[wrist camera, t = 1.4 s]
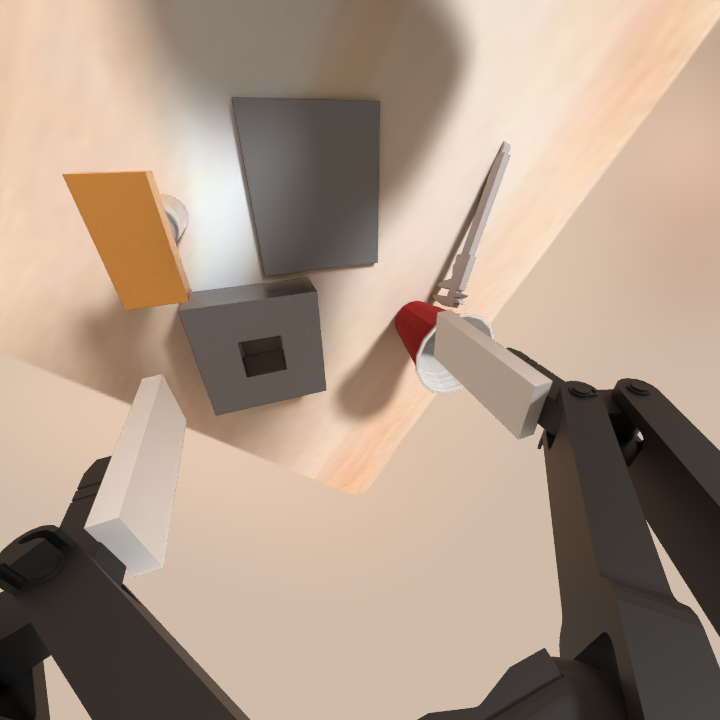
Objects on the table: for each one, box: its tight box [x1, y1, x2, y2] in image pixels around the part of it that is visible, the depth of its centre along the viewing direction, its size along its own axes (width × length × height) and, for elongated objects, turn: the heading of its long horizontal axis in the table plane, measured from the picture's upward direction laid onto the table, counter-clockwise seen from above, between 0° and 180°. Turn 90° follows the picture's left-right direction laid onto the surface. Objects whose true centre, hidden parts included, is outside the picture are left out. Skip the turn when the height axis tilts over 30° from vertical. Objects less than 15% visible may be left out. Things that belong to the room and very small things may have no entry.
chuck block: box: [178, 278, 326, 415], centre depth 39 cm, size 14×14×5 cm
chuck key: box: [62, 171, 191, 310], centre depth 25 cm, size 8×4×14 cm, turn 2°
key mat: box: [232, 97, 380, 276], centre depth 34 cm, size 16×14×1 cm
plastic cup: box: [396, 301, 495, 394], centre depth 42 cm, size 11×11×12 cm
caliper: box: [433, 141, 510, 308], centre depth 40 cm, size 20×1×6 cm, turn 161°
